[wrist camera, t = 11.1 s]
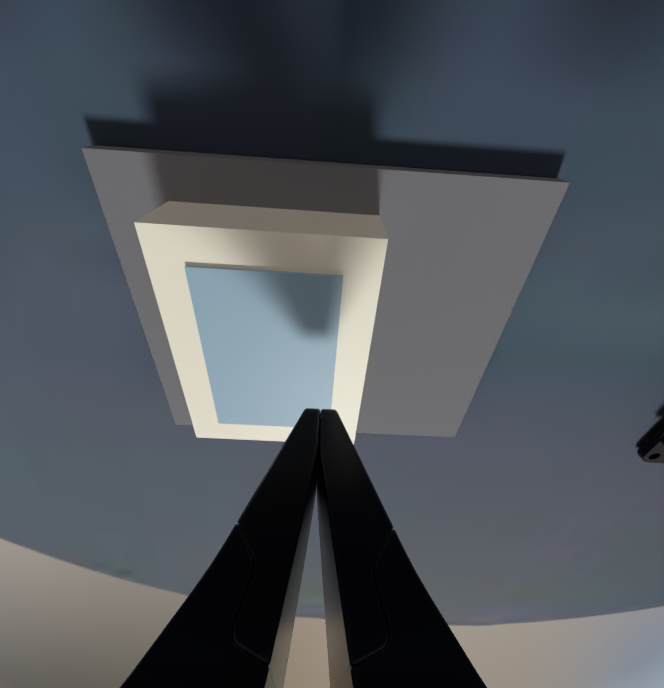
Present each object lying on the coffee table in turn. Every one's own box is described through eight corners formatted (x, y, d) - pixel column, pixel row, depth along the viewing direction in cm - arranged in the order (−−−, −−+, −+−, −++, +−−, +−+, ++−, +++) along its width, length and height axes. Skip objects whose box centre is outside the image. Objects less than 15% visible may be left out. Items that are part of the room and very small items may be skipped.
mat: (557, 178, 9) (570, 182, 9) (450, 427, 16) (454, 437, 15) (95, 145, 9) (81, 147, 9) (180, 414, 16) (175, 424, 15)
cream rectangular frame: (353, 446, 13) (195, 439, 12) (351, 405, 14) (212, 398, 14) (388, 240, 8) (131, 223, 8) (379, 215, 9) (168, 201, 9)
